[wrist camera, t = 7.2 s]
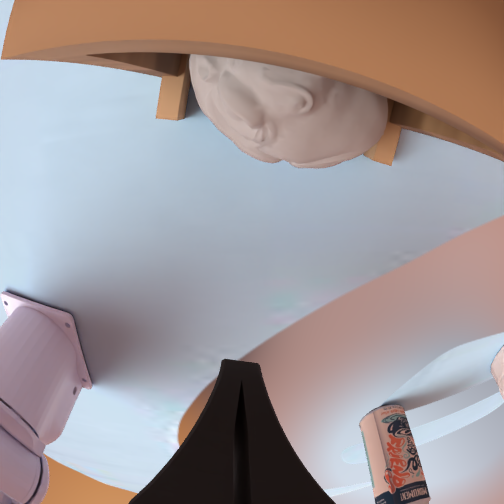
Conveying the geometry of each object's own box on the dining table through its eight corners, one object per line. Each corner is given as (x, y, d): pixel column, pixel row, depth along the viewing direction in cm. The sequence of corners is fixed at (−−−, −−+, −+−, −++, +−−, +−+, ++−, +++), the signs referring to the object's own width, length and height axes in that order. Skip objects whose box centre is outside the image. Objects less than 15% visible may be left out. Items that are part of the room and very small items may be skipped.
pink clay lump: (244, 12, 11) (232, -53, 5) (375, 75, 12) (457, 65, 6) (193, 120, 13) (140, 137, 7) (323, 177, 15) (369, 235, 8)
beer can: (411, 404, 24) (442, 503, 14) (379, 428, 26) (400, 522, 16) (382, 397, 23) (412, 512, 13) (348, 423, 25) (366, 529, 15)
